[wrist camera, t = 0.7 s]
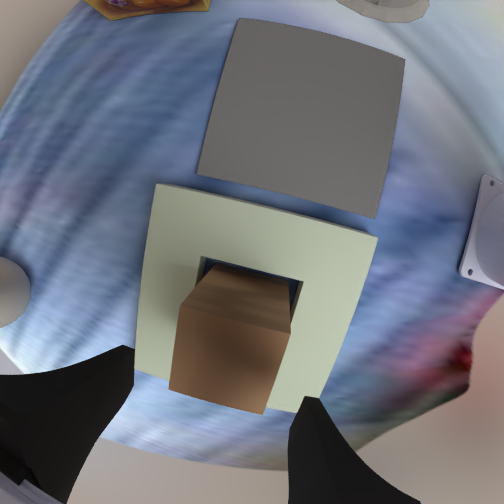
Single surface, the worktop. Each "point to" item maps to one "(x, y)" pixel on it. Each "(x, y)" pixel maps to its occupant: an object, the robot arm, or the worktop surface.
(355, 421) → the worktop surface
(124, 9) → the candy box
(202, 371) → the walnut block
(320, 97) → the rubber mat
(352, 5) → the french press
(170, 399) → the worktop surface
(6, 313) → the donut
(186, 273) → the pocket holder
